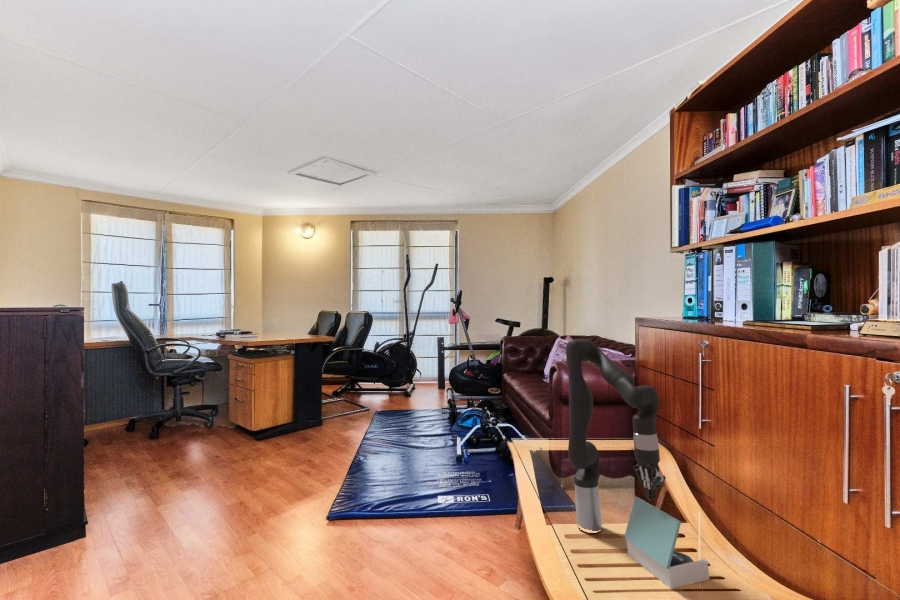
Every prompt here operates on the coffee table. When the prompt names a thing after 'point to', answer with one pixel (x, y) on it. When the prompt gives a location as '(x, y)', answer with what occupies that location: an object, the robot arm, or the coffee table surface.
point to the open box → (671, 569)
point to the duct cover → (653, 531)
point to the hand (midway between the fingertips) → (651, 499)
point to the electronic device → (680, 559)
